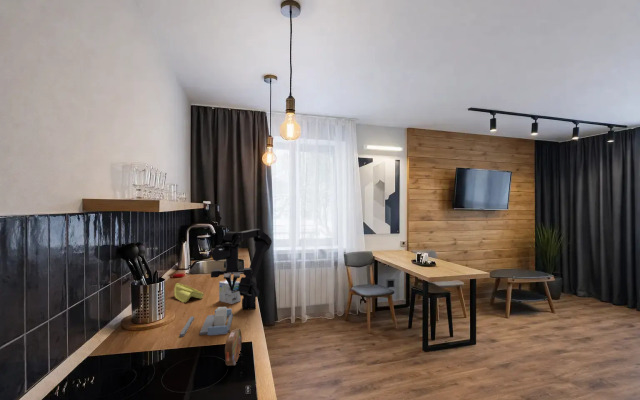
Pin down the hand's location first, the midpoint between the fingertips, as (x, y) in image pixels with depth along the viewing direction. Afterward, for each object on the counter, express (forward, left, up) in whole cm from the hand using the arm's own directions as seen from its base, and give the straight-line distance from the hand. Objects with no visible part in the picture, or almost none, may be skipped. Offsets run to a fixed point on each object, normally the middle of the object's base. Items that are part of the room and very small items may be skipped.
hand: (232, 290), depth 141 cm
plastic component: (+28, -37, -12) cm, 48 cm away
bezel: (+4, +10, -12) cm, 16 cm away
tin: (-4, +43, -12) cm, 45 cm away
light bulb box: (+3, -24, -12) cm, 27 cm away
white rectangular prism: (+4, +10, -12) cm, 16 cm away
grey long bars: (+9, +10, -12) cm, 18 cm away
